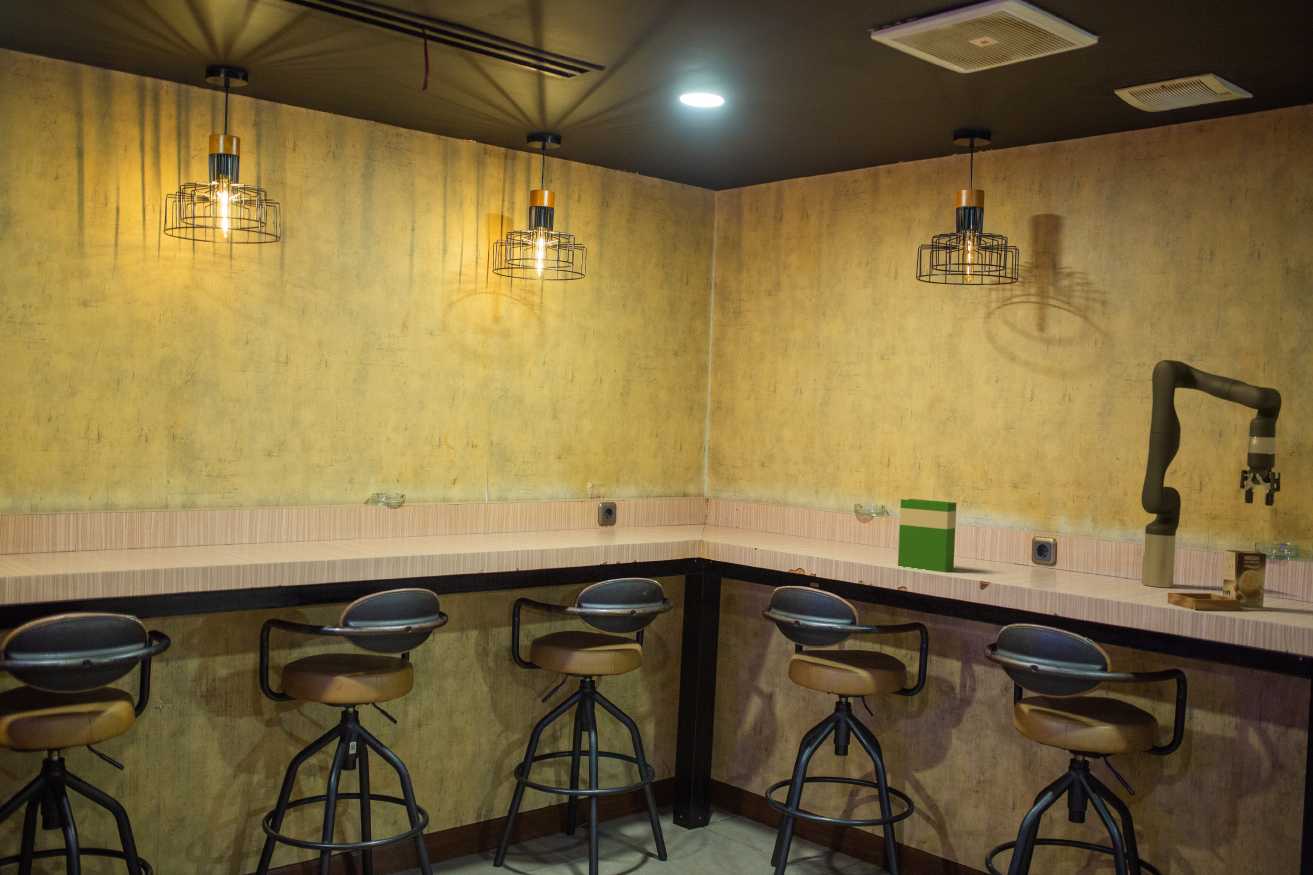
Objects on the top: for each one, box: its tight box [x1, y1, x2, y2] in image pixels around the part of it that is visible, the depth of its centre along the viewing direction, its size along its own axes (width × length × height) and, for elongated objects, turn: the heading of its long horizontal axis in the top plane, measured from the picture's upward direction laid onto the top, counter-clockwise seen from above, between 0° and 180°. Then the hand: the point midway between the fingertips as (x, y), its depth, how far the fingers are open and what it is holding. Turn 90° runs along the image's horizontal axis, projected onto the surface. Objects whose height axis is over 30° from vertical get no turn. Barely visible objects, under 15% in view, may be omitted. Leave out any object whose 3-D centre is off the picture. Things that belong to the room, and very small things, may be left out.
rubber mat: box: [1239, 606, 1274, 612], centre depth 319 cm, size 13×10×1 cm
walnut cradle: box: [1167, 592, 1241, 611], centre depth 317 cm, size 12×14×3 cm
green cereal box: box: [897, 498, 957, 573], centre depth 379 cm, size 18×7×24 cm, turn 52°
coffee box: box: [1222, 549, 1267, 607], centre depth 319 cm, size 9×6×16 cm
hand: (1258, 504), depth 330 cm, fingers open, 8 cm apart
